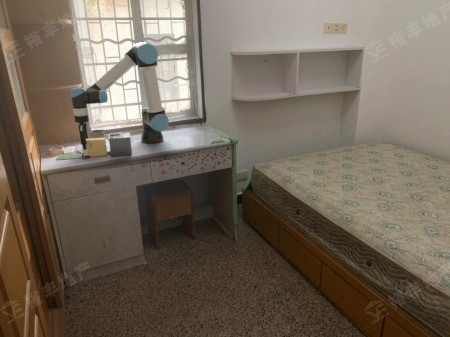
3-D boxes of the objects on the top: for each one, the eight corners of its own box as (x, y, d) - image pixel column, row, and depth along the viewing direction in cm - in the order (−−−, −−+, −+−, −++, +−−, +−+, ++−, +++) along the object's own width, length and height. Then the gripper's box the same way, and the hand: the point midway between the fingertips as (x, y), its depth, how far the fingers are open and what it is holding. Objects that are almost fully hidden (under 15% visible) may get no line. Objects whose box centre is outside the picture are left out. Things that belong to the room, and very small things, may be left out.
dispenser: (131, 149, 227) (130, 132, 223) (131, 155, 216) (129, 137, 212) (111, 151, 224) (109, 133, 220) (110, 157, 213) (107, 138, 209)
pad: (83, 153, 219) (83, 153, 219) (81, 158, 211) (81, 157, 211) (58, 155, 216) (58, 154, 216) (55, 160, 208) (55, 159, 207)
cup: (91, 148, 230) (89, 133, 227) (93, 144, 238) (91, 129, 234) (105, 147, 232) (103, 132, 228) (106, 143, 239) (104, 129, 236)
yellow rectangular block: (107, 152, 220) (105, 137, 217) (106, 155, 216) (104, 139, 212) (84, 154, 217) (82, 138, 214) (83, 157, 213) (81, 141, 209)
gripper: (76, 112, 214) (81, 149, 222) (71, 118, 197) (77, 158, 206) (89, 111, 216) (94, 148, 224) (85, 117, 199) (91, 157, 207)
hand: (86, 152), depth 215 cm, fingers closed on yellow rectangular block, 5 cm apart
